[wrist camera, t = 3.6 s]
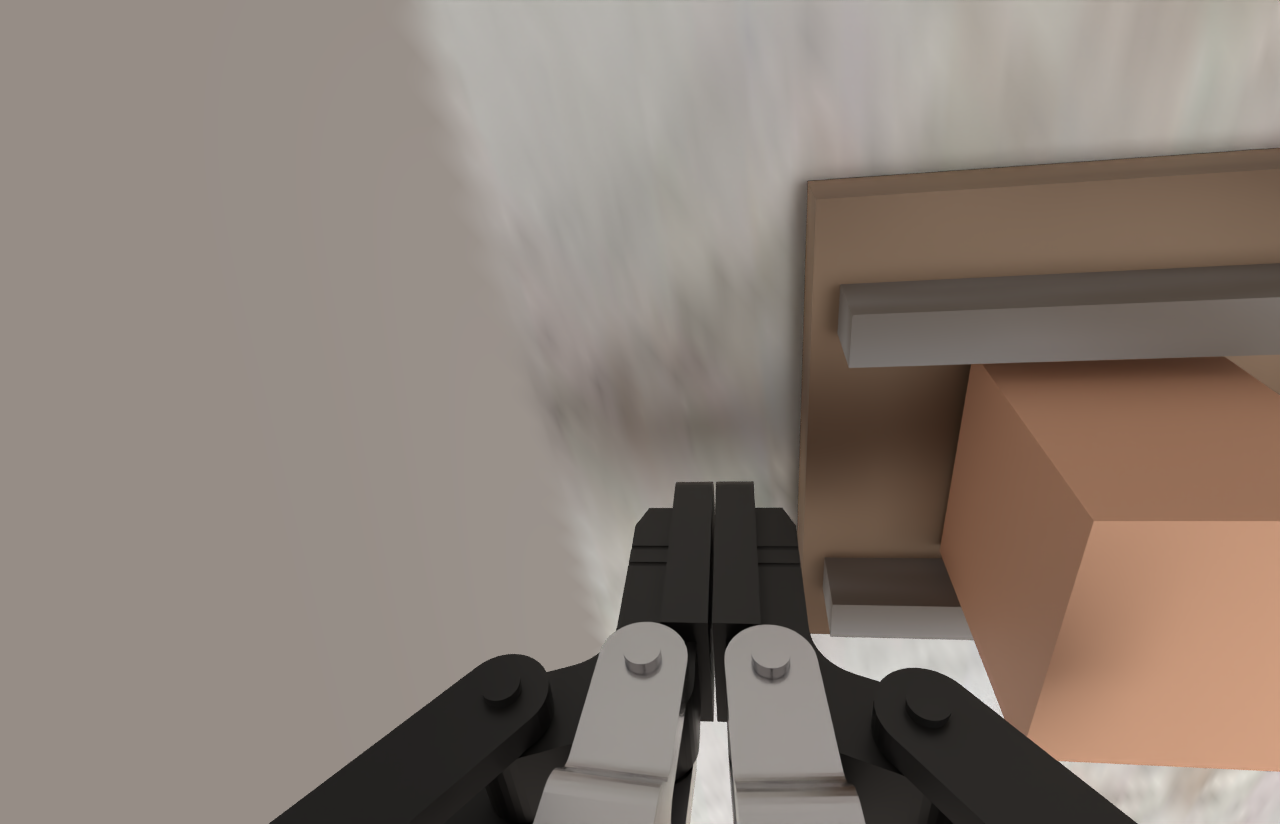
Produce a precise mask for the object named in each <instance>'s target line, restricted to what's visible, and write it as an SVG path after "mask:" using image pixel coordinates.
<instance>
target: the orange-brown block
mask: <svg viewBox="0 0 1280 824" xmlns="http://www.w3.org/2000/svg"><path fill="white" fill-rule="evenodd" d="M940 554H941V556H942V559H943V561H944V564H945V567H946V569H947V572H948V574H949V577H950V579H951V582H952V585H953V587H954V590H955V592H956V595H957V597H958V600H959V603H960V605H961V608H962V610H963V613H964V616H965V618H966V621H967V623H968V626H969V628H970V631H971V634H972V636H973V639H974V641H975V644H976V646H977V649H978V652H979V654H980V657H981V659H982V662H983V665H984V667H985V670H986V672H987V675H988V677H989V680H990V683H991V685H992V688H993V690H994V693H995V695H996V698H997V701H998V703H999V706H1000V708H1001V711H1002V714H1003V716H1004V719H1005V720H1006V721H1007V722H1009V723H1010V724H1011V725H1012V726H1014V727H1015V728H1016V729H1018V730H1019V731H1020V732H1021V733H1023V734H1024V735H1025V736H1026V737H1028V738H1029V739H1030V740H1032V741H1033V742H1034V743H1035V744H1037V745H1038V746H1039V747H1040V748H1042V749H1043V750H1044V751H1046V752H1047V753H1048V754H1049V755H1051V756H1052V757H1053V758H1054V759H1056V760H1057V761H1070V762H1091V763H1112V764H1133V765H1154V766H1175V767H1196V768H1217V769H1238V770H1259V771H1280V395H1279V394H1277V393H1276V392H1274V391H1273V390H1272V389H1270V388H1269V387H1267V386H1266V385H1264V384H1263V383H1262V382H1260V381H1259V380H1257V379H1256V378H1254V377H1253V376H1252V375H1250V374H1249V373H1247V372H1246V371H1244V370H1243V369H1242V368H1240V367H1239V366H1237V365H1236V364H1234V363H1233V362H1232V361H1230V360H1229V359H1227V358H1226V357H1224V356H1219V357H1187V358H1155V359H1122V360H1090V361H1058V362H1026V363H993V364H971V368H970V374H969V380H968V385H967V391H966V397H965V403H964V409H963V415H962V421H961V427H960V433H959V439H958V445H957V451H956V457H955V462H954V468H953V474H952V480H951V486H950V492H949V498H948V504H947V510H946V516H945V522H944V528H943V534H942V539H941V545H940Z"/></svg>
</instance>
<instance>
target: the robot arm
mask: <svg viewBox="0 0 1280 824" xmlns="http://www.w3.org/2000/svg"><path fill="white" fill-rule="evenodd" d="M714 677H715V685H716V703H717V721H719V722H727V730H728V750H729V751H728V753H729V774H730V787H731V799H732V812H733V824H1137V823H1136V822H1135V821H1133V820H1132V819H1131V818H1130V817H1128V816H1127V815H1126V814H1125V813H1123V812H1122V811H1121V810H1119V809H1118V808H1117V807H1116V806H1114V805H1113V804H1112V803H1111V802H1109V801H1108V800H1107V799H1105V798H1104V797H1103V796H1102V795H1100V794H1099V793H1098V792H1097V791H1095V790H1094V789H1093V788H1091V787H1090V786H1089V785H1088V784H1086V783H1085V782H1084V781H1083V780H1081V779H1080V778H1079V777H1077V776H1076V775H1075V774H1074V773H1072V772H1071V771H1070V770H1068V769H1067V768H1066V767H1065V766H1063V765H1062V764H1061V763H1060V762H1058V761H1057V760H1056V759H1054V758H1053V757H1052V756H1051V755H1049V754H1048V753H1047V752H1046V751H1044V750H1043V749H1042V748H1040V747H1039V746H1038V745H1037V744H1035V743H1034V742H1033V741H1032V740H1030V739H1029V738H1028V737H1026V736H1025V735H1024V734H1023V733H1021V732H1020V731H1019V730H1018V729H1016V728H1015V727H1014V726H1012V725H1011V724H1010V723H1009V722H1007V721H1006V720H1005V719H1004V718H1002V717H1001V716H1000V715H998V714H997V713H996V712H995V711H993V710H992V709H991V708H989V707H988V706H987V705H986V704H984V703H983V702H982V701H981V700H979V699H978V698H977V697H975V696H974V695H973V694H972V693H970V692H969V691H968V690H967V689H965V688H964V687H963V686H961V685H960V684H959V683H957V682H956V681H954V680H953V679H951V678H949V677H947V676H945V675H943V674H941V673H938V672H936V671H932V670H928V669H922V668H906V669H900V670H897V671H894V672H892V673H890V674H889V675H887V676H886V677H885V678H883V679H882V680H881V682H879V681H876V680H872V679H869V678H866V677H863V676H859V675H856V674H853V673H851V672H848V671H845V670H843V669H841V668H839V667H837V666H836V665H834V664H833V663H831V662H830V661H829V660H828V659H826V658H825V657H824V656H823V655H822V654H821V653H820V651H819V650H818V649H817V648H816V646H815V644H814V643H813V641H812V638H811V636H810V631H809V625H808V617H807V609H806V601H805V594H804V586H803V578H802V570H801V563H800V555H799V550H798V539H797V531H796V525H795V524H794V523H793V521H792V520H791V519H790V517H789V516H788V515H787V513H786V512H785V511H784V510H783V508H755V500H754V482H753V481H751V482H716V503H715V502H714V484H713V482H676V486H675V494H674V503H673V508H649V509H648V511H647V512H646V513H645V515H644V516H643V517H642V518H641V520H640V521H639V522H638V523H637V525H636V527H635V532H634V538H633V543H632V549H631V554H630V560H629V566H628V571H627V576H626V582H625V587H624V593H623V598H622V604H621V609H620V615H619V620H618V625H617V629H616V631H615V632H614V633H613V634H612V635H610V636H609V638H608V639H607V640H606V641H605V643H604V644H603V646H602V648H601V650H600V653H598V654H597V655H596V656H594V657H592V658H591V659H589V660H587V661H585V662H582V663H580V664H576V665H573V666H570V667H566V668H561V669H558V670H554V671H550V672H546V671H545V669H544V668H543V666H542V665H541V664H540V663H539V662H537V661H536V660H535V659H533V658H530V657H528V656H525V655H519V654H508V655H502V656H498V657H495V658H492V659H490V660H488V661H486V662H484V663H482V664H481V665H479V666H478V667H476V668H475V669H474V670H473V671H471V672H470V673H468V674H467V675H466V676H464V677H463V678H462V679H460V680H459V681H458V682H456V683H455V684H454V685H452V686H451V687H450V688H448V689H447V690H446V691H444V692H443V693H442V694H440V695H439V696H438V697H436V698H435V699H434V700H432V701H431V702H430V703H429V704H427V705H426V706H425V707H423V708H422V709H421V710H419V711H418V712H416V713H415V714H414V715H412V716H411V717H410V718H409V719H407V720H406V721H405V722H403V723H402V724H401V725H399V726H398V727H397V728H395V729H394V730H393V731H391V732H390V733H389V734H387V735H386V736H385V737H383V738H382V739H381V740H379V741H378V742H377V743H375V744H374V745H373V746H371V747H370V748H369V749H367V750H366V751H365V752H363V753H362V754H361V755H359V756H358V757H357V758H355V759H354V760H353V761H351V762H350V763H349V764H347V765H346V766H345V767H343V768H342V769H341V770H340V771H338V772H337V773H336V774H334V775H333V776H332V777H330V778H329V779H328V780H326V781H325V782H324V783H322V784H321V785H320V786H318V787H317V788H316V789H315V790H313V791H312V792H310V793H309V794H308V795H306V796H305V797H304V798H302V799H301V800H300V801H298V802H297V803H296V804H294V805H293V806H292V807H290V808H289V809H288V810H287V811H285V812H284V813H283V814H281V815H280V816H278V817H277V818H276V819H275V820H273V821H272V822H270V823H269V824H690V819H691V810H692V802H693V794H694V786H695V778H696V770H697V760H696V758H697V755H698V751H699V737H700V721H712V722H713V721H714Z"/></svg>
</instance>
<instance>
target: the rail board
mask: <svg viewBox="0 0 1280 824" xmlns="http://www.w3.org/2000/svg"><path fill="white" fill-rule="evenodd" d="M1219 356H1224V357H1226V358H1227V359H1229V360H1230V361H1232V362H1233V363H1234V364H1236V365H1237V366H1239V367H1240V368H1242V369H1243V370H1244V371H1246V372H1247V373H1249V374H1250V375H1252V376H1253V377H1254V378H1256V379H1257V380H1259V381H1260V382H1262V383H1263V384H1264V385H1266V386H1267V387H1269V388H1270V389H1272V390H1273V391H1274V392H1276V393H1277V394H1279V395H1280V148H1273V149H1259V150H1245V151H1230V152H1216V153H1202V154H1188V155H1173V156H1159V157H1145V158H1130V159H1116V160H1102V161H1088V162H1073V163H1059V164H1045V165H1030V166H1016V167H1002V168H988V169H973V170H959V171H945V172H930V173H916V174H902V175H888V176H873V177H859V178H845V179H830V180H816V181H808V188H807V221H806V255H805V288H804V321H803V354H802V388H801V421H800V454H799V487H798V520H797V539H798V550H799V555H800V563H801V570H802V578H803V586H804V594H805V601H806V609H807V617H808V625H809V631H810V634H830V636H831V637H871V638H912V639H953V640H974V639H973V636H972V634H971V631H970V628H969V626H968V623H967V621H966V618H965V616H964V613H963V610H962V608H961V605H960V603H959V600H958V597H957V595H956V592H955V590H954V587H953V585H952V582H951V579H950V577H949V574H948V572H947V569H946V567H945V564H944V561H943V559H942V556H941V554H940V545H941V539H942V534H943V528H944V522H945V516H946V510H947V504H948V498H949V492H950V486H951V480H952V474H953V468H954V462H955V457H956V451H957V445H958V439H959V433H960V427H961V421H962V415H963V409H964V403H965V397H966V391H967V385H968V380H969V374H970V368H971V364H993V363H1026V362H1058V361H1090V360H1122V359H1155V358H1187V357H1219Z"/></svg>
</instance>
